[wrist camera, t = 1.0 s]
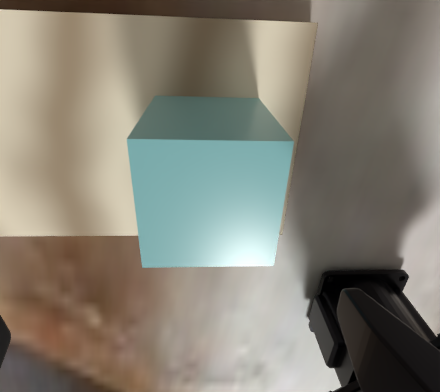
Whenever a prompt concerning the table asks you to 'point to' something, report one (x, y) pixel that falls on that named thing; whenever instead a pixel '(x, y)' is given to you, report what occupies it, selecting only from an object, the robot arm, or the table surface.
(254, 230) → the teal rectangular block
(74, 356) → the table surface
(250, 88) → the post stand
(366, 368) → the robot arm
